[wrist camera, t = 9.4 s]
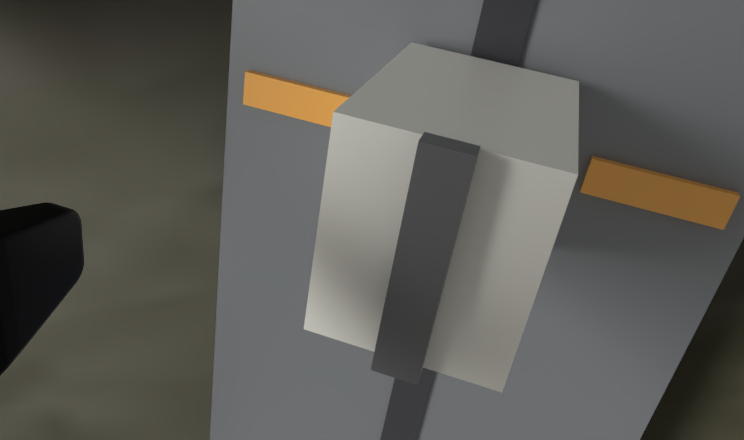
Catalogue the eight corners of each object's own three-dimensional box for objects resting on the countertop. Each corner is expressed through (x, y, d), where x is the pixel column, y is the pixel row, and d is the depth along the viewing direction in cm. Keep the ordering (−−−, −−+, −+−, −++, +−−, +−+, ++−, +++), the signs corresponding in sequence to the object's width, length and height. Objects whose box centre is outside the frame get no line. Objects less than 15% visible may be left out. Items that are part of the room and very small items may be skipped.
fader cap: (523, 250, 15) (499, 411, 10) (379, 209, 16) (294, 345, 11) (579, 78, 13) (579, 182, 8) (411, 39, 14) (323, 116, 9)
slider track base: (529, 606, 24) (525, 667, 22) (229, 494, 26) (202, 541, 24) (858, -75, 13) (906, -69, 11) (282, -178, 15) (237, -189, 13)
